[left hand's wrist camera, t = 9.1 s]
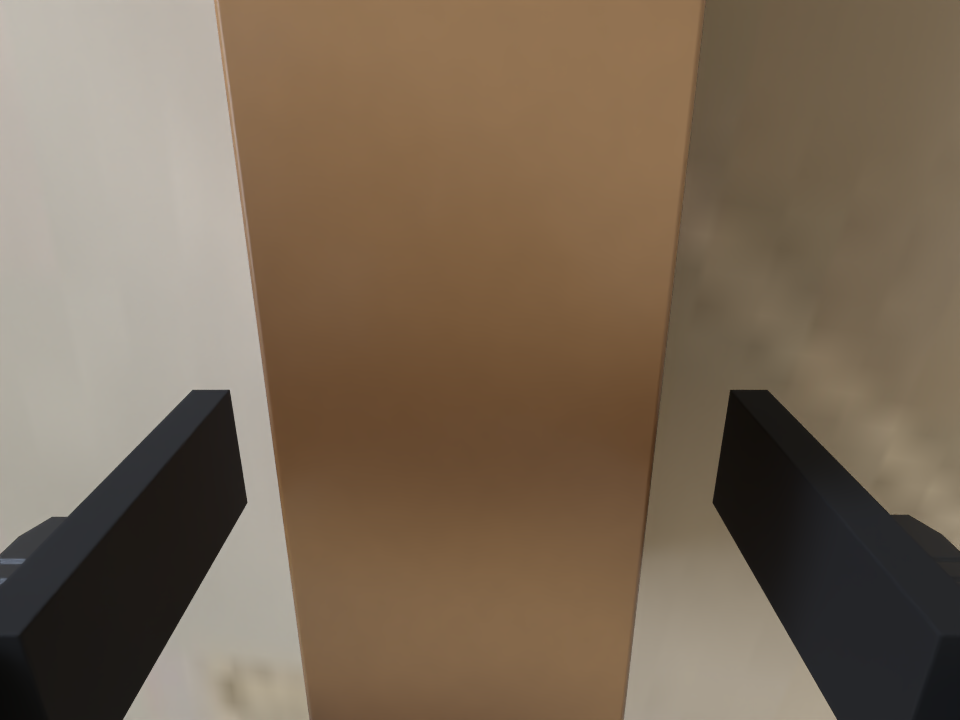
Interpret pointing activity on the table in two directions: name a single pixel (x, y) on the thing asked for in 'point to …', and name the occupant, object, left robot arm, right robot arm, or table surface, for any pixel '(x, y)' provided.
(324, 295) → the beam
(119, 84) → the table surface
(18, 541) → the left robot arm
